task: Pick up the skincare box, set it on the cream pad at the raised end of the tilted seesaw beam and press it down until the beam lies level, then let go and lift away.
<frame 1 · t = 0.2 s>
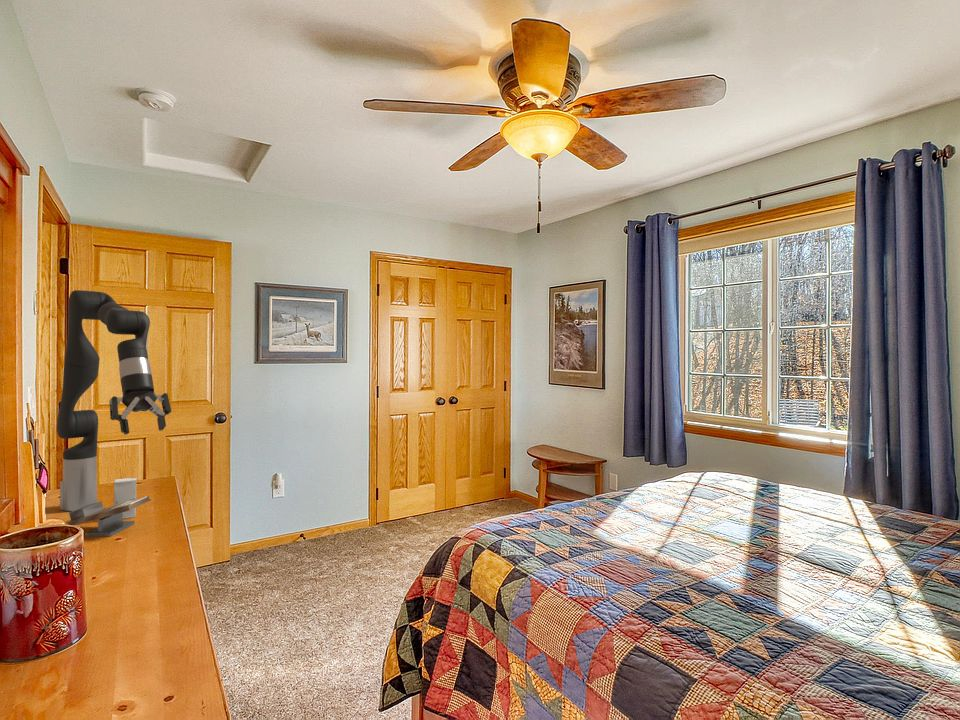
hand: (144, 431, 144), 31 cm above the dresser, tool tilted 20°, fingers open, 8 cm apart
seesaw beam: (108, 507, 156), point 7 cm above the dresser, hinge at -15.0°
skincare box: (125, 517, 169), on the dresser
fulcrum: (110, 530, 156), on the dresser
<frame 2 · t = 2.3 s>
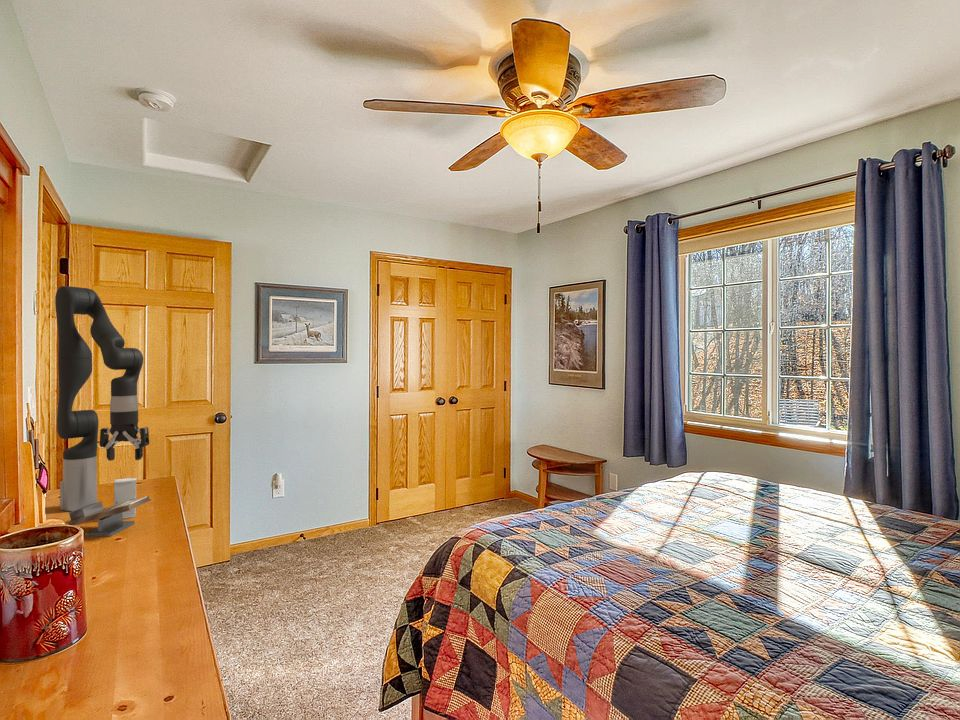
hand: (124, 459, 169), 18 cm above the dresser, tool pointing down, fingers open, 8 cm apart
nothing on the dresser moved.
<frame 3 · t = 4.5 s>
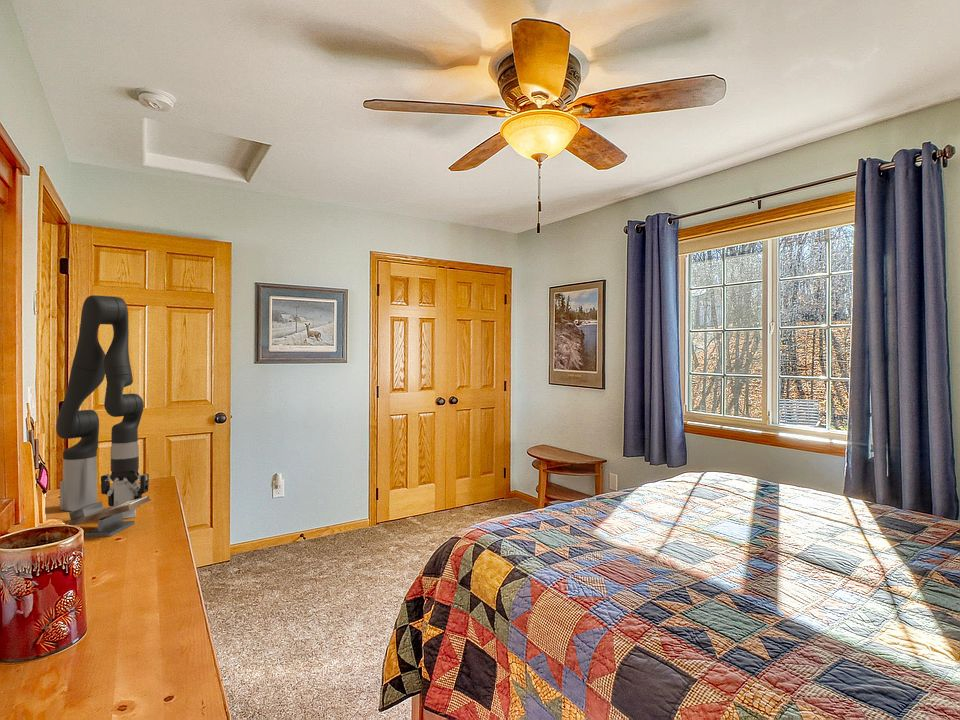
hand: (125, 506, 169), 3 cm above the dresser, tool pointing down, fingers closed on skincare box, 7 cm apart
skincare box: (125, 517, 169), on the dresser, touching gripper
everything else where it was.
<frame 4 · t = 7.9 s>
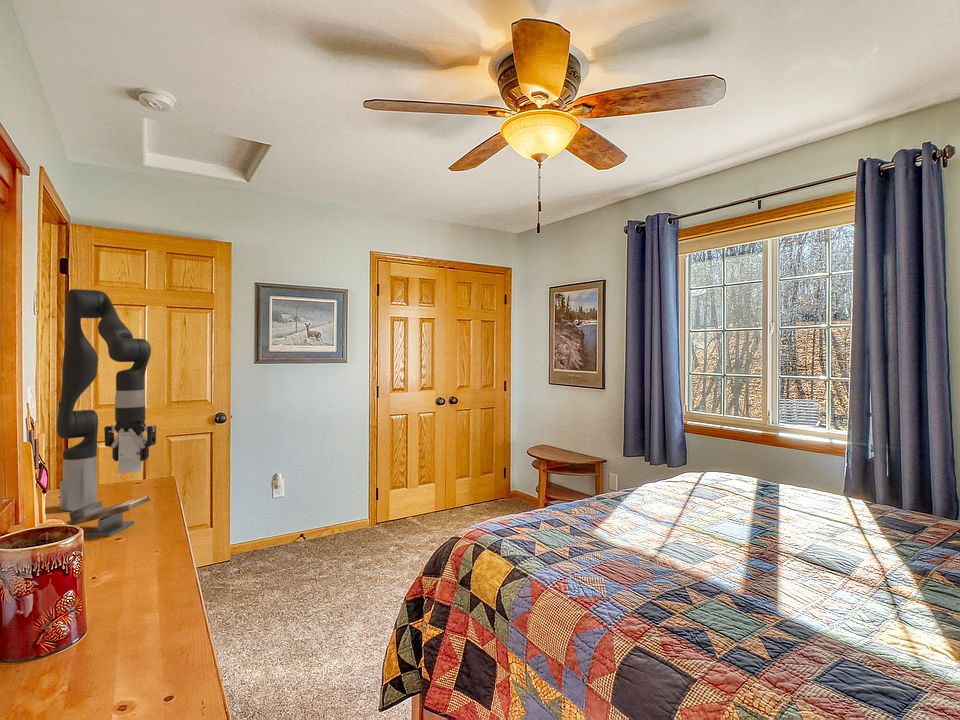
hand: (130, 460, 156), 21 cm above the dresser, tool pointing down, fingers closed on skincare box, 7 cm apart
skincare box: (130, 472, 156), point 17 cm above the dresser, touching gripper
everything else where it was.
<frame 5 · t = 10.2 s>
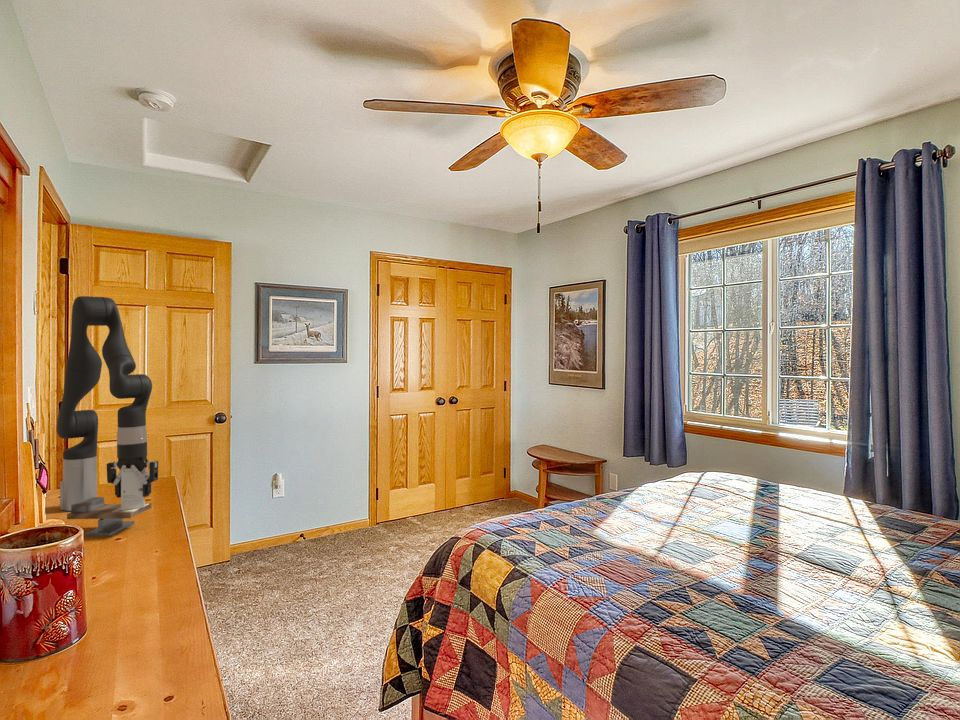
hand: (133, 496, 156), 10 cm above the dresser, tool pointing down, fingers closed on skincare box, 7 cm apart
seesaw beam: (110, 506, 156), point 7 cm above the dresser, hinge at -0.5°, touching skincare box
skincare box: (133, 508, 156), point 7 cm above the dresser, touching gripper, seesaw beam
when the fingers open (10 cm above the dresser, at t = 11.4 s): skincare box stays where it is, resting on seesaw beam.
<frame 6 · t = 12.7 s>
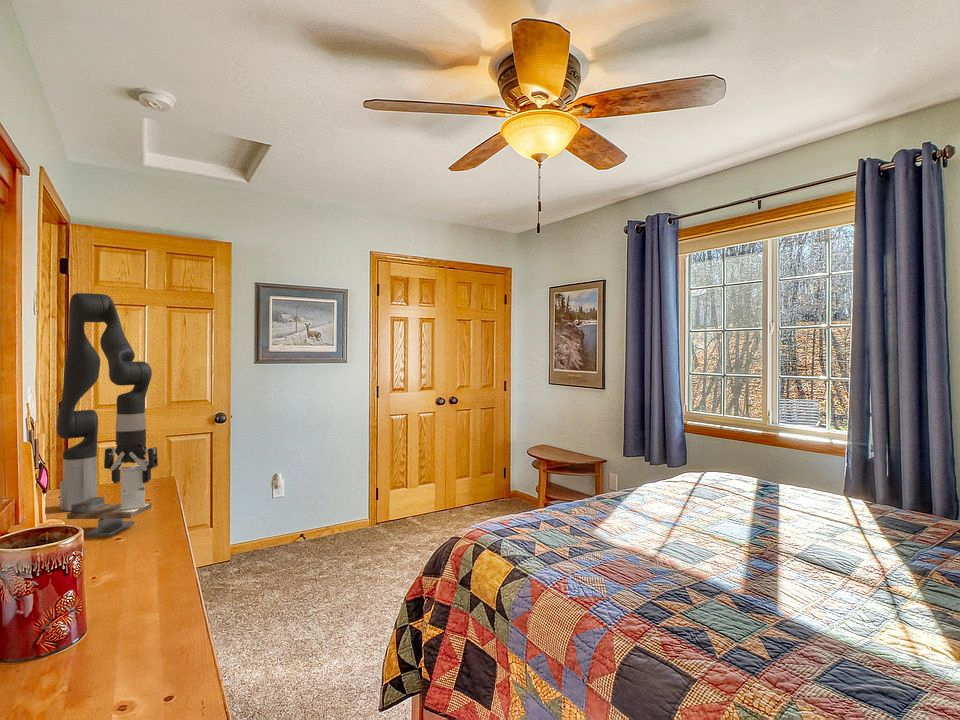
hand: (131, 482, 156), 14 cm above the dresser, tool pointing down, fingers open, 8 cm apart
seesaw beam: (110, 506, 156), point 7 cm above the dresser, hinge at -0.2°, touching skincare box
skincare box: (133, 507, 156), point 7 cm above the dresser, touching gripper, seesaw beam
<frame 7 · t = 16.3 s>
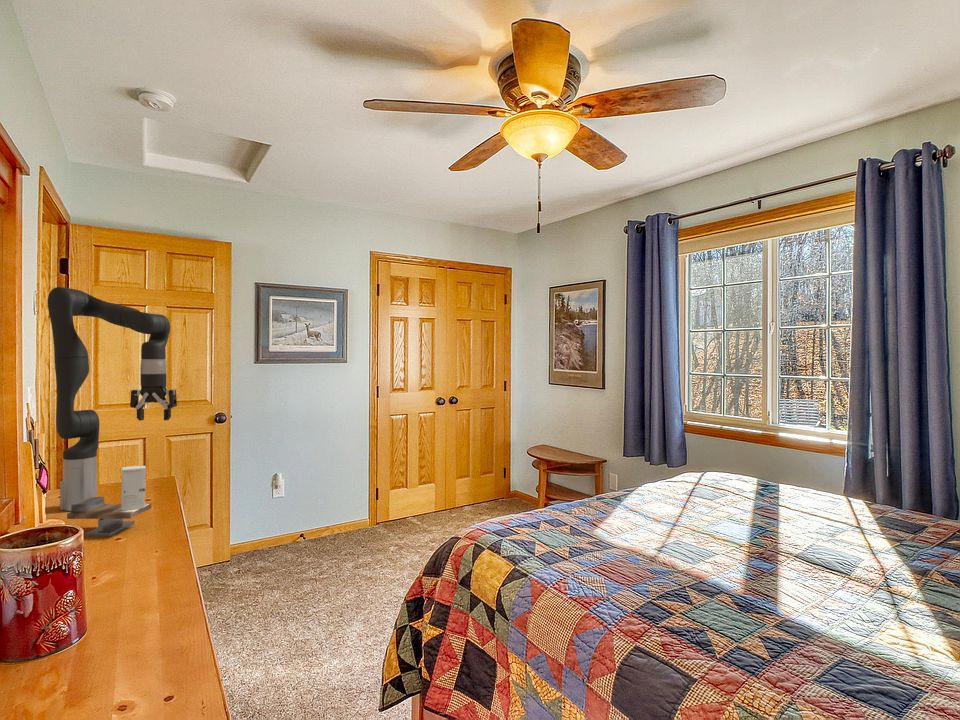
hand: (153, 420, 178), 30 cm above the dresser, tool pointing down, fingers open, 8 cm apart
seesaw beam: (110, 506, 156), point 7 cm above the dresser, hinge at 0.2°, touching skincare box
skincare box: (133, 508, 156), point 6 cm above the dresser, touching seesaw beam
at the end: seesaw beam at +0° (first picture: -15°); skincare box 0.7 cm from the target spot on the seesaw beam, point 1.5 cm above the seesaw beam's base; skincare box tilted 0° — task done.
